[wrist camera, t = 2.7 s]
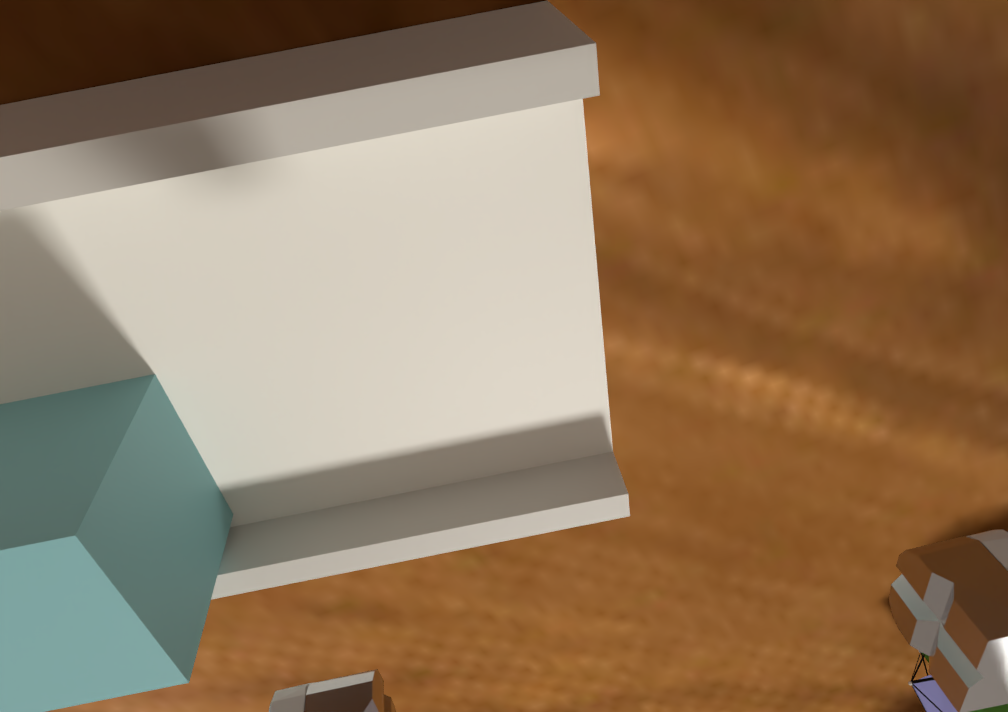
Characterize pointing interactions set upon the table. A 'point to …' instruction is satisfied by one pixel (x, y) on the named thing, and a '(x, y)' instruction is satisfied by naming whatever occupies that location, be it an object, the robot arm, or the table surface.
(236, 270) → the trap box
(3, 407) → the teal block
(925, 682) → the geometric puzzle
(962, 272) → the table surface
